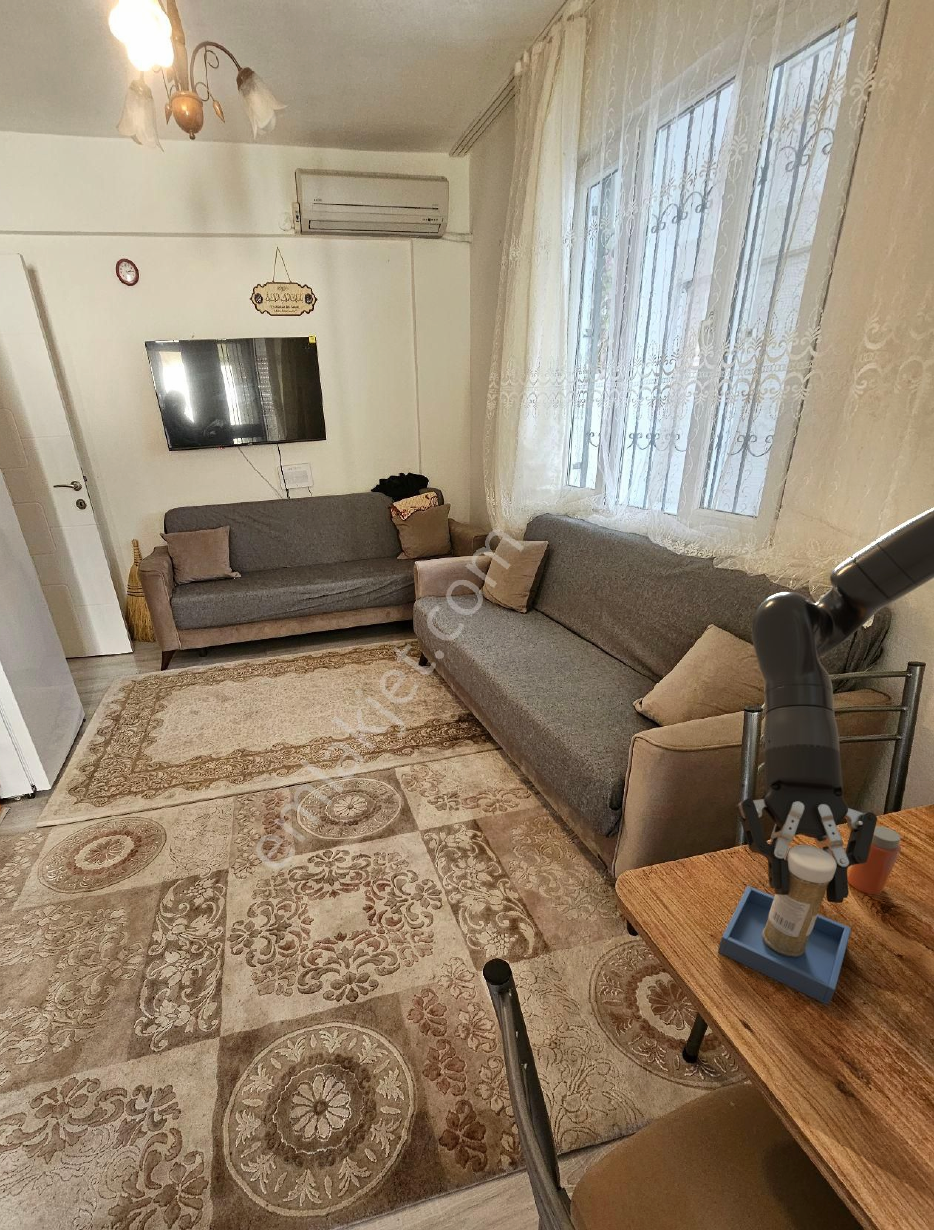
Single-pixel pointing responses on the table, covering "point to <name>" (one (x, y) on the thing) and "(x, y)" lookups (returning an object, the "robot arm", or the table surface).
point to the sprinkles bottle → (799, 900)
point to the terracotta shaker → (876, 862)
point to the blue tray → (801, 973)
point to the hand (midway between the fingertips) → (808, 897)
